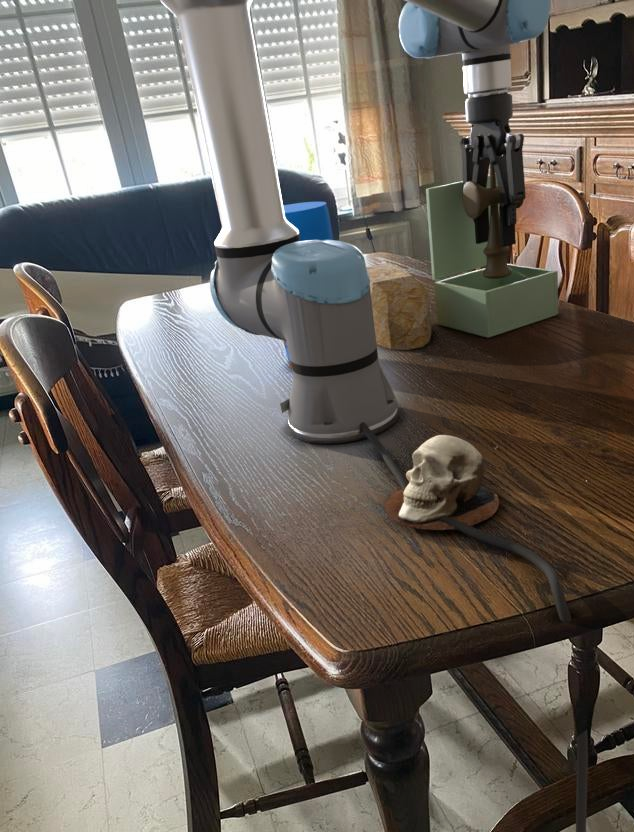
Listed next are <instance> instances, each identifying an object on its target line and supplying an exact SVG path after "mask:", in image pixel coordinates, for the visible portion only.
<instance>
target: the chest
mask: <svg viewBox="0 0 634 832" xmlns="http://www.w3.org/2000/svg"><path fill="white" fill-rule="evenodd" d="M507 265H508V267H509V268H510V269H511V270H512V274H511V275H509V276H507V277H504V278H499V279H489V278H485V277H484V276H483V271H484V270H485V268H486V267H482V268H480V269H477V270H473V271H470V272H469V271H468V272H466V273H461V274H459V275H458V274H457V275H454V276H450V277H447V278H443V279H441V280H438V281H437V280H436V281H434V282H433V286H434V287H433V289H434V299H435V311H436V320H437V321H436V322H437V325H439V326H443V327H447V328H449V329H453V330H457V331H461V332H464V333H467V334H468V333H469V334H473V335H477V336H480V337H482V338H483V337H484V338H487V339H489V338H492V337H494V336H497V335H501V334H504V333H506V332H507V333H508V332H510V331H512V330H513V331H514V330H515V329H519V328H521V327H526V326H529V325H531V324H534V323H537V322H539V321H543V320H546V319H549V318H552V317H555V316H557V315H559V284H558V283H559V281H558V280H559V273H558V272H559V271H558V270H553V269H547V268H540V267H533V266H526V265H521V264H520V265H519V264H514V263H507Z"/></svg>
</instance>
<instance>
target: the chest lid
mask: <svg viewBox="0 0 634 832" xmlns="http://www.w3.org/2000/svg"><path fill="white" fill-rule="evenodd" d="M495 176H496V173H495ZM496 186H498V182H497V178H496ZM486 188H490V174H488V179H487V187H486ZM425 195H426V197H425V198H426V212H427V222H428V225H427V226H428V238H429V251H430V265H431V278H432V280H433V281H437V280H440V279H445V278H448V277H452V276H456V275H458V274H463V273H465V272H469V271H472V270H473V271H474V270H475V269H479V268H480V269H481V268H484V267H486V264H487V259H486V255H485V254H484V253H483V251H484V249H485V248H486V246H487V243H488V242H484V243H480V244H476V238H475V223H474V221H473V219H472V218H470V217H468V215H467V214H466V212H465V209H464V206H463V200H462V195H463V180H461V181H457V182H452V183H447V184H443V185H442V184H441V185H437V186H432V187H428V188H425ZM499 206H500V205H499V204H498V210H499ZM488 208H489V226H490V206H488ZM499 217H500V215H499Z"/></svg>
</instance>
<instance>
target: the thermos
mask: <svg viewBox="0 0 634 832" xmlns="http://www.w3.org/2000/svg"><path fill="white" fill-rule="evenodd" d="M283 209H284V214H285V218H286V220H287V221H288V222H289V223H291V224H292V225H293V226H294V227H296V228H297V229H298V230H299V236H300V241H306V240H320V241H324V240H334V238H333V230H332V223H331V217H330V213H329V212H330V211H329V208H328V205H327V202H326V201H306V202H305V201H304V202H297V203H291V204H283ZM283 345H284V350H285V352H286V357H287V362H288V366H289V368H290V369H291V370H292V367H291V362H290V357H289V351H288V346H287V341H284V340H283Z"/></svg>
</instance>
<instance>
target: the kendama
mask: <svg viewBox="0 0 634 832" xmlns="http://www.w3.org/2000/svg"><path fill="white" fill-rule="evenodd" d="M495 174H496V173H495V169H494V165H493V164H491V162H490V165H489V175H490V188H484V187H482V186H481V185H479V184H477V183H475V182H473V181H469V182H466V184H465V185H464V188H463V195H462V200H463V206H464V209H465V212H466V214H467V215H468V217H470V218H472V219H474V218H477V217H479V216H480V214H481V213H482V212H483V211H484V210H485V209H486V208H487V207H488V206H490V226H489V237H488V243H487V246H486V248H485V249H484V251H483V253H484V254H485V255H486V259H487V264H486V266H485V267H484V268H485V270H484V271H483V276H484V277H485V278H489V279H499V278H504V277H507V276H509V275H511V274H512V270H511V269H510V268H509V267H508V265H507V264H508V261H507V258H508V257H507V255H508V253H509V252H510V246H506V247H501V238H500V217H499V210H498V204H501V203H502V199H501V194H500V190H499V186H496V176H495ZM508 197H509V195H508ZM524 201H525V199H524V200H521V201H519V202H518V203H517V204H516V210H517V209H520V208H521V207H522V206H523V204H524Z"/></svg>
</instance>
